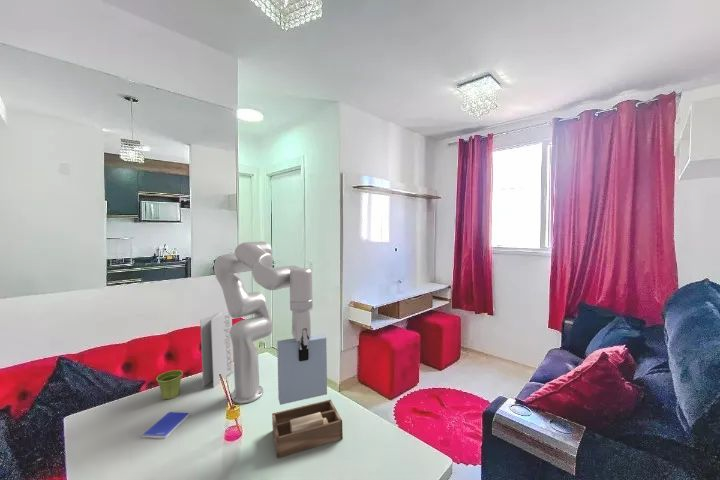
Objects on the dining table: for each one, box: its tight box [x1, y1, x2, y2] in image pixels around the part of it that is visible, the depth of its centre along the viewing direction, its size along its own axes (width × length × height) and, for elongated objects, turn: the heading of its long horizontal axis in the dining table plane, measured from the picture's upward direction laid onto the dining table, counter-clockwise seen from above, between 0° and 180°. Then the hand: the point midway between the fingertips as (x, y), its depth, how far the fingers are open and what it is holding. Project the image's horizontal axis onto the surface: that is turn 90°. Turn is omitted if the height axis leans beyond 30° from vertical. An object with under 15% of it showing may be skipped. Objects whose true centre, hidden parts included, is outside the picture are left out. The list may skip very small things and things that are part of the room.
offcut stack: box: [290, 412, 328, 433], centre depth 97 cm, size 4×14×8 cm, turn 113°
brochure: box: [199, 310, 234, 388], centre depth 138 cm, size 14×6×30 cm, turn 168°
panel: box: [276, 333, 328, 406], centre depth 102 cm, size 4×16×20 cm, turn 112°
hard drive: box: [141, 411, 190, 439], centre depth 106 cm, size 2×8×12 cm
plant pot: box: [155, 369, 184, 400], centre depth 125 cm, size 9×9×9 cm
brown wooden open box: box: [271, 399, 344, 459], centre depth 100 cm, size 13×21×6 cm, turn 112°
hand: (302, 356), depth 102 cm, fingers closed on panel, 4 cm apart
